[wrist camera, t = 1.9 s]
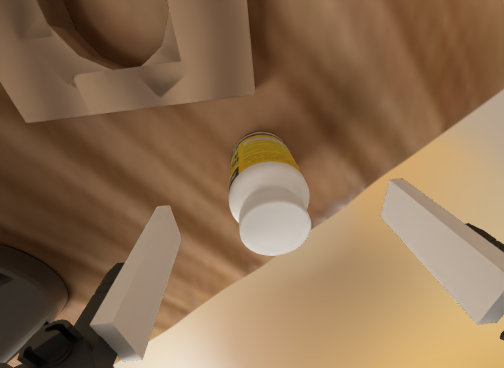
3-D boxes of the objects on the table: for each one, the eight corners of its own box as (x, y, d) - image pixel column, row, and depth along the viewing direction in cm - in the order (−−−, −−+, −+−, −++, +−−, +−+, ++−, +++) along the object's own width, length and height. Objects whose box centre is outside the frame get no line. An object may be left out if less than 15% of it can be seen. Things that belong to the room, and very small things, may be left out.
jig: (53, 115, 17) (22, 124, 15) (-82, -125, 11) (-173, -177, 9) (253, 90, 17) (255, 95, 15) (228, -162, 11) (226, -225, 9)
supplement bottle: (227, 133, 19) (219, 194, 10) (288, 127, 19) (332, 183, 10) (234, 186, 21) (232, 269, 13) (287, 181, 22) (321, 259, 13)
